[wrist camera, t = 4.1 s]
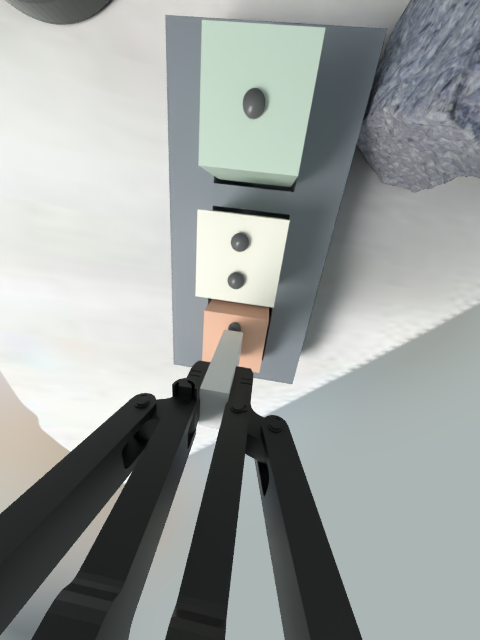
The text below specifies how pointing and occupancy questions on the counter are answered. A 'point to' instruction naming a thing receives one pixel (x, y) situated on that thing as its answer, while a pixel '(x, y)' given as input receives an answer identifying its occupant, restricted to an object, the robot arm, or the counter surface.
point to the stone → (426, 97)
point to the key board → (265, 185)
